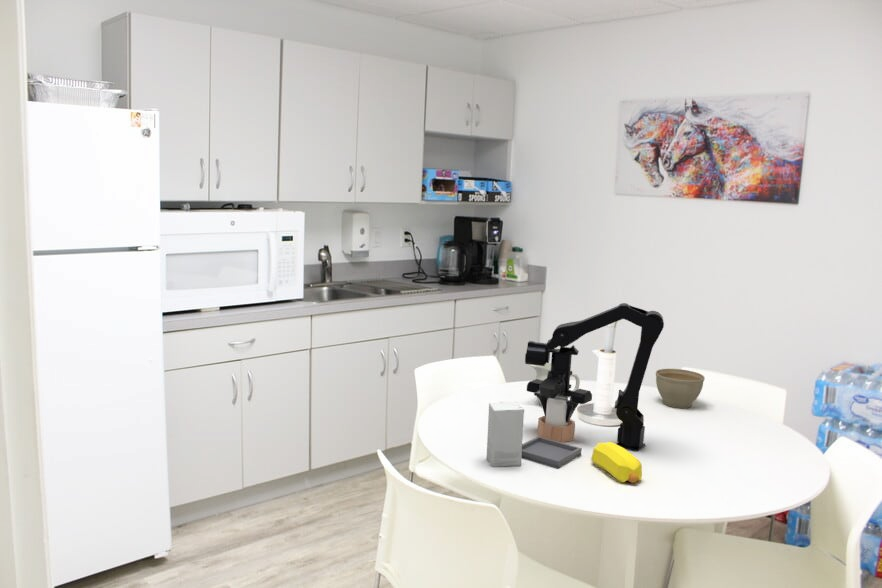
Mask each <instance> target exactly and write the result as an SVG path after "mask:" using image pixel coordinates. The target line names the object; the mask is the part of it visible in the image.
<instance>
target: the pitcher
mask: <svg viewBox="0 0 882 588" xmlns="http://www.w3.org/2000/svg"><path fill="white" fill-rule="evenodd" d="M529 365H530V364H529ZM530 367H531V368H533V369H534V371H535V373H536V377H535V379H539V380H543V381H544V380H545V379H547V376H548V371H551V362H549V363H546V364H545V366H539V365H530ZM571 377H574V379H575V386H574V388H573V390H572V391H575V390H578V389H580V383H581V381H580V377H579V375H578V373H576V372H572V375H570V378H571ZM564 393H565V392H564ZM567 397H568V396H567ZM536 398H537V399H536V400H537V401H538V403H539V404H540V406H542V404H541V401H540V399H539V398H538V397H537V396H536ZM568 398H569V397H568Z"/></svg>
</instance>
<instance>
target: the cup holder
mask: <svg viewBox="0 0 882 588" xmlns="http://www.w3.org/2000/svg"><path fill="white" fill-rule="evenodd" d="M537 421H538V422H537V431H536V433H537V435H536V437H538V436H539V437H543V438H546V439H550V440H554V441H557V442H561V443H568V442H567V441H569V442H571V441H573V440H575V431H576V430H575V429H576V421H575V420H573V419H572V418H570V420H569V422H568V426H552V425H548V424H545V421H546V417H545V415H543V416H541V417H539V418H538V420H537Z"/></svg>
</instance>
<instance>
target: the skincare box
mask: <svg viewBox="0 0 882 588" xmlns="http://www.w3.org/2000/svg"><path fill="white" fill-rule="evenodd" d="M524 417H525V409H524V408H523V406H521V404H520V403H518V402H517V401H516V402H515V401H513V402H510V401H509V402H488V421H487V438H486V439H487V442H486V459H487V461H488V463H489V462H490V463H489V464H490V465H492V466H494V467H515V466H517V467H519V466H522V459H523V458H522V444H523V437H524V436H523V435H524V434H523V433H524V419H525V418H524ZM492 466H491V467H492Z"/></svg>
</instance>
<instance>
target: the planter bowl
mask: <svg viewBox="0 0 882 588" xmlns="http://www.w3.org/2000/svg"><path fill="white" fill-rule="evenodd" d="M655 376H656V377H655V383H656V388H657V390H658V394H659V395H660V397H661V398H662V402H663V404H665V405H666V406H668V407H672V408H679V409H685V408H686V409H687V408H691V407H692V405H693V403H694V402H695V401H697V398H698V397H699V395H700V394H701V393H702V390H703V386H704V381H705V376H704V375H703V374H701V373H699V372H697V371H694V370H689V369H682V368H661V369H657V370H656V371H655Z"/></svg>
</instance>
